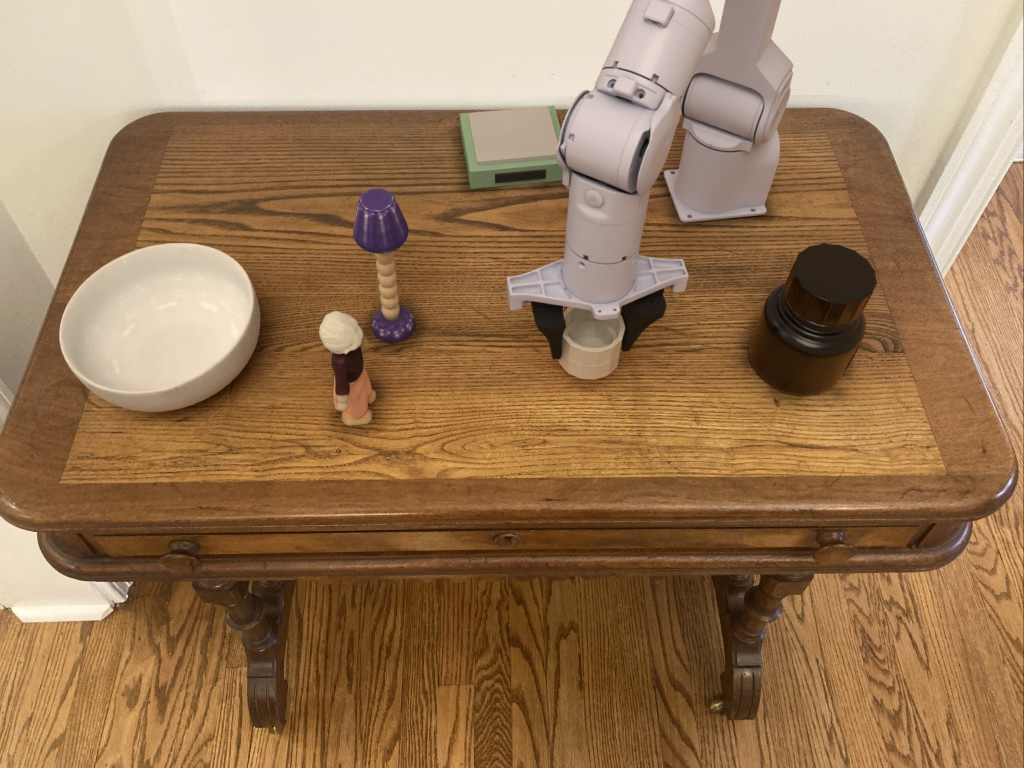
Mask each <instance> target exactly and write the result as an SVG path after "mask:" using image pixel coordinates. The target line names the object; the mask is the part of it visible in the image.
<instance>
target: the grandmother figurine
mask: <svg viewBox="0 0 1024 768" xmlns="http://www.w3.org/2000/svg"><path fill="white" fill-rule="evenodd" d="M318 334H319V339H320V340H321V342H322V345H323V346H324V347H325V348H326V349H327V350H328V351H329V352H331V353H332V354H331V362H330V363H331V365H330V366H331V367H332V370H333V374H334V379H333V394H332V395H333V405H334V409H335V410H336V411H339V412H340V413H341V421H342V423H343V424H344V425H345V426H348V427H349V426H350V427H351V426H363V425H367V424H369V423H371V422H372V420H373V411H372V410H371V409H369V405H370V404H372V403H374V402H375V400H376V398H377V391H375V390H374V389H373V388H372V384H371V380H370V377H369V373H368V372H367V370H366V369H365V367H364V365H365V362H364V357H363V356H364V355H363V350H362V349H365V348H367V346H368V344H369V343H368V339H367V338H366V337H365V336H364V332H363V329H362V328H361V326H360V325H359V322H358V321H357V319H356V318H354V317H353V316H351V315H350V314H347V313H345V312H342V311H339V310H338V311H337V310H334V311H331V312H329V313H327V314H326V315H325V316H324V318H323V319H322V321H321V324H320V326H319V330H318Z"/></svg>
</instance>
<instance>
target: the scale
mask: <svg viewBox="0 0 1024 768" xmlns="http://www.w3.org/2000/svg"><path fill="white" fill-rule="evenodd" d="M561 128H562V126H561V123H560V121H559V117H558V113H557V109H556V107H555V105H543V106H531V107H522V108H508V109H499V110H498V109H497V110H487V111H484V110H483V111H474V112H472V111H471V112H463V113H459V129H460V130H459V132H460V137H461V143H462V148H463V149H462V150H463V154H464V160H465V165H466V171H467V177H468V182H469V189H470V190H476V189H487V188H498V187H508V186H509V187H510V186H520V185H528V184H539V183H540V184H541V183H552V182H560V181H561V182H562V180H563V170H562V168H561V167H560V166H559V165H558V162H557V158H556V148H557V145H558V143H559V137H560V132H561Z"/></svg>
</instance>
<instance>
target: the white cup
mask: <svg viewBox="0 0 1024 768" xmlns="http://www.w3.org/2000/svg"><path fill="white" fill-rule="evenodd" d="M563 315H564V319H565V323H566V329H565V331H564V333H563V337H562V355H561V359H557V361H558V364H559V365H560V366H561V367H562V368H563V370H564V371H565V372H566V373H567V374H569V375H571V376H573V377H576V378H577V379H581V380H594V381H595V380H598V379H601V378H606V377H607V376H609V375H610V374H611V373H612V372H613V371H614V370H616V369H617V368H618V365H619V363H620V358H621V354H622V344H623V338H624V333H625V325H624V321H623V318H622V316H621V315H619V317H618V318H615V319H607V320H597V319H595V318H594V316H593V313H592V311H590V310H584V309H578V308H572V307H567V308H566V309H565V310H564V311H563Z"/></svg>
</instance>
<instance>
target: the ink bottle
mask: <svg viewBox="0 0 1024 768" xmlns="http://www.w3.org/2000/svg"><path fill="white" fill-rule="evenodd" d="M785 281H786V282H783V283H782V284H780V285H778V286H776V287H775V288H774V289H773V290H772V291H771V292H770V293H769V295H768V296H767V297H766V299H765V301H764V303H763V305H762V308H761V311H760V313H759V316H758V318H757V320H756V324H755V327H754V330H753V332H752V334H751V337H750V340H749V343H748V356H749V361H750V363H751V365H752V367H753V368H754V370H755V372H756V373H757V374H758V376H760V377H761V378H762V379H763V380H764V381H765V382H766V383H768V384H769V385H770V386H772V387H773V388H775V389H777V390H779V391H781V392H784V393H786V394H789V395H793V396H800V397H801V396H803V397H804V396H805V397H806V396H813V395H819V394H822V393H824V392H827V391H828V390H830V389H831V388H833V387H834V386H835V385H836V384H838V383H839V382H840V380H841V379H842V377H843V376H844V374H845V373H846V372H847V370H848V368H849V367H850V364H851V362H852V361H853V360H854V357H855V355H856V353H857V352H858V350H859V348H860V345H861V344H862V341H863V339H864V337H865V333H866V329H867V321H866V316H865V313H864V311H865V309H866V307H867V305H868V303H869V301H870V299H871V297H872V296H873V294H874V290H875V289H876V286H877V285H878V281H877V275H876V269H875V268H874V267H873V266H872V264H871V263H870V262H869V260H868V259H867V258H865V257H864V256H863V255H861V254H860V253H859V252H857V250H856V249H852V248H849V247H846V246H844V245H841V244H833V243H827V242H826V243H825V242H822V243H819V244H815V245H814V244H813V245H808V246H807V247H806V248H805V249H803V250H801V251H799V252H798V253H797V256H796V259H795V260H794V261H793V264H792V266H791V269H790V271H789V274H788V276H787V279H786V280H785Z"/></svg>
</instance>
